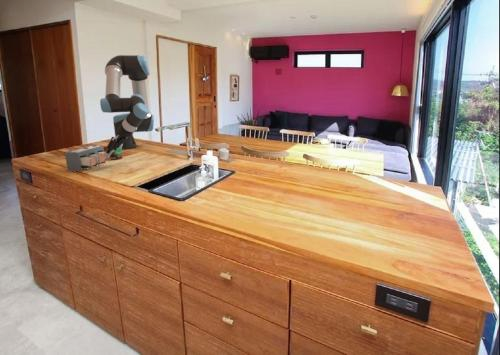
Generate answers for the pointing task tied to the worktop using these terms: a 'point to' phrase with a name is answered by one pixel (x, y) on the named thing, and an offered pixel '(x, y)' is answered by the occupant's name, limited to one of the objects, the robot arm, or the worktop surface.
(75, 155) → the grey slotted holder
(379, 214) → the worktop surface
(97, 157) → the plunger middle
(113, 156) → the food container
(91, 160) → the plunger
